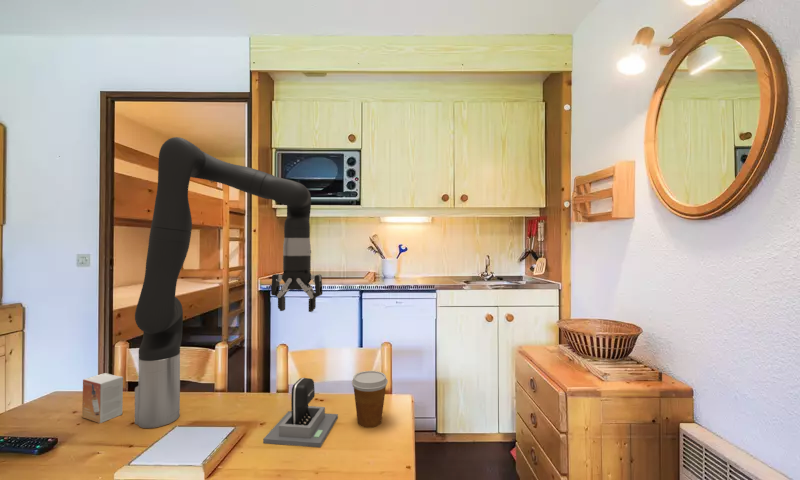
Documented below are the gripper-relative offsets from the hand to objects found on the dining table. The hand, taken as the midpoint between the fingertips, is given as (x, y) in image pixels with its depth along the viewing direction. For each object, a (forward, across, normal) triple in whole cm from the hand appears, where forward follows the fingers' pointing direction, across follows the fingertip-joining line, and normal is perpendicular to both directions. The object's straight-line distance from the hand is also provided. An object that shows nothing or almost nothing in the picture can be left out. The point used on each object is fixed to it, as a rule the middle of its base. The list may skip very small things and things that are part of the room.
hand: (296, 311), depth 102 cm
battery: (+27, +6, -10) cm, 30 cm away
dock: (+28, +6, -10) cm, 30 cm away
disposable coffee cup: (+28, +22, -4) cm, 36 cm away
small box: (+28, -51, -10) cm, 59 cm away
